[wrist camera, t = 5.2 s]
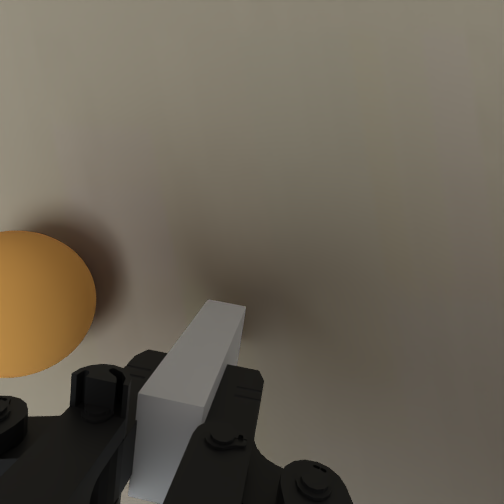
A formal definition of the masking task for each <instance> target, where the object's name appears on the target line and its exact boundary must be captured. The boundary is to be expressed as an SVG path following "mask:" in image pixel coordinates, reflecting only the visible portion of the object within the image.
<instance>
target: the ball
mask: <svg viewBox="0 0 504 504" xmlns="http://www.w3.org/2000/svg"><path fill="white" fill-rule="evenodd" d="M95 309H96V289H95V284H94V281H93V278H92V275H91V273H90V271H89V269H88V267H87V266H86V264H85V263H84V261H83V260H82V259H81V258H80V257H79V256H78V254H77V253H76V252H75V251H73V250H72V249H71V248H70V247H68V246H67V245H65V244H64V243H62V242H60V241H58V240H57V239H54V238H52V237H49V236H47V235H44V234H40V233H36V232H28V231H4V232H0V378H14V377H21V376H26V375H30V374H34V373H37V372H40V371H42V370H45V369H47V368H49V367H51V366H53V365H55V364H57V363H58V362H60V361H61V360H62V359H64V358H65V357H67V356H68V355H69V354H70V353H71V352H72V351H73V350H75V348H76V347H77V346H78V345H79V344H80V343H81V341H82V340H83V339H84V337H85V335H86V334H87V332H88V330H89V328H90V326H91V323H92V321H93V318H94V314H95Z"/></svg>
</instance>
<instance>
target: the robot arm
mask: <svg viewBox="0 0 504 504" xmlns="http://www.w3.org/2000/svg"><path fill="white" fill-rule="evenodd" d="M245 311H246V306H242V305H236V304H231V303H225V302H220V301H215V300H209V299H208V300H207V301H206V303H205V304H204V305H203V307H202V308H201V309H200V311H199V312H198V313H197V315H196V316H195V317H194V319H193V320H192V321H191V323H190V324H189V325H188V327H187V328H186V329H185V331H184V332H183V333H182V335H181V336H180V338H179V339H178V340H177V342H176V343H175V344H174V346H173V347H172V348H171V350H170V351H169V352H168V353H163V352H158V351H153V350H146V351H144V352H142V353H140V354H138V355H136V356H134V358H133V359H132V360H131V361H130V362H129V363H128V364H127V366H125V367H124V368H121V367H118V366H115V365H108V364H98V365H90V366H87V367H83V368H80V369H78V370H77V371H75V372H73V373H72V377H71V395H70V407H69V408H68V409H67V410H66V411H65V412H64V413H63V414H62V415H61V416H35V417H28V408H27V404H26V403H25V402H24V401H23V400H21V399H20V398H16V397H12V396H0V504H120V499H121V492H122V491H123V489H124V487H125V485H126V484H127V482H128V480H129V478H130V482H129V493H128V496H130V497H134V498H138V499H142V500H147V501H151V502H155V503H159V504H353V502H352V500H351V497H350V495H349V493H348V490H347V488H346V486H345V484H344V483H343V481H342V480H341V478H340V477H339V476H338V475H337V474H336V473H335V472H334V471H333V470H331V469H330V468H329V467H327V466H325V465H323V464H320V463H318V462H314V461H309V460H299V461H293V462H292V463H290V464H288V465H286V466H285V468H284V469H283V468H281V467H279V466H277V465H275V464H274V463H272V462H270V461H269V460H267V459H266V458H265V457H264V456H263V455H262V454H261V453H260V452H259V450H258V449H257V447H256V445H255V442H254V436H255V430H256V425H257V419H258V413H259V408H260V402H261V396H262V390H263V384H264V380H263V378H262V376H261V374H260V372H259V371H258V370H253V369H248V368H243V367H238V366H237V363H238V356H239V350H240V343H241V337H242V331H243V324H244V318H245Z"/></svg>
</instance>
